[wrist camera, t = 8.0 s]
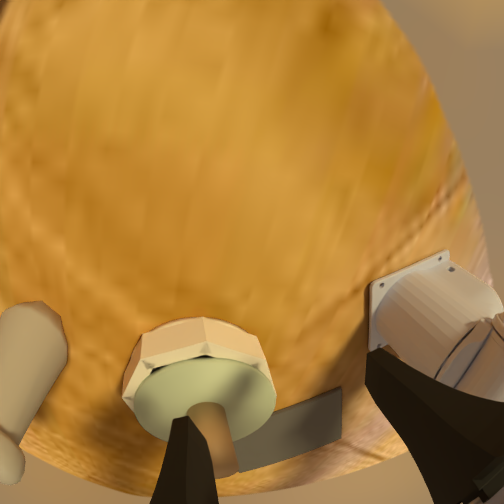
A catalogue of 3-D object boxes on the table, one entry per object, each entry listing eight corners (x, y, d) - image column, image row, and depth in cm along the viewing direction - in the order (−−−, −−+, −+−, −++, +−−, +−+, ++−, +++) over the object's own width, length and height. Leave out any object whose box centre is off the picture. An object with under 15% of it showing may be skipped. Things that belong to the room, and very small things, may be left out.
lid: (273, 344, 18) (304, 410, 13) (273, 428, 23) (293, 480, 18) (114, 366, 16) (104, 438, 11) (156, 446, 21) (160, 500, 16)
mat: (340, 386, 27) (341, 389, 27) (340, 435, 32) (341, 438, 32) (209, 430, 26) (209, 433, 25) (239, 470, 31) (239, 473, 30)
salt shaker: (73, 361, 19) (42, 507, 8) (13, 339, 17) (-42, 468, 6) (77, 303, 18) (20, 471, 6) (9, 279, 16) (-81, 414, 4)
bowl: (244, 298, 20) (256, 325, 17) (272, 389, 25) (282, 416, 22) (106, 338, 19) (99, 368, 16) (163, 419, 24) (165, 446, 21)
